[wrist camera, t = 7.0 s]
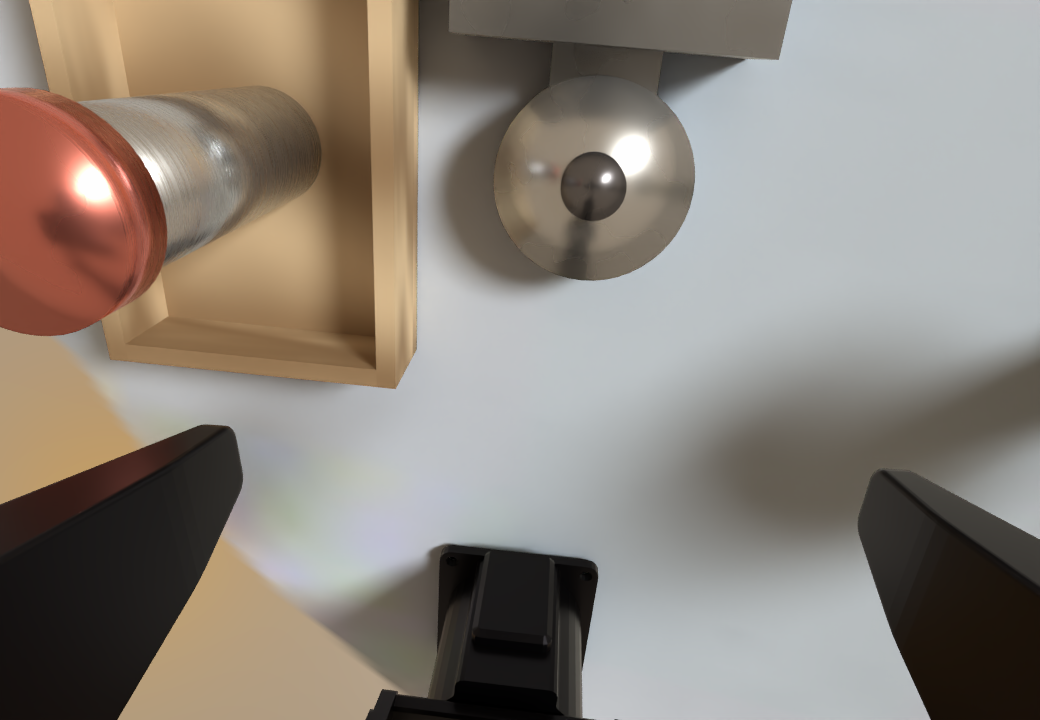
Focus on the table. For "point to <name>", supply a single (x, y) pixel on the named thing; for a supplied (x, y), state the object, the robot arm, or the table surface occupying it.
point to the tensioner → (607, 122)
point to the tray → (295, 225)
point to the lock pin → (133, 191)
